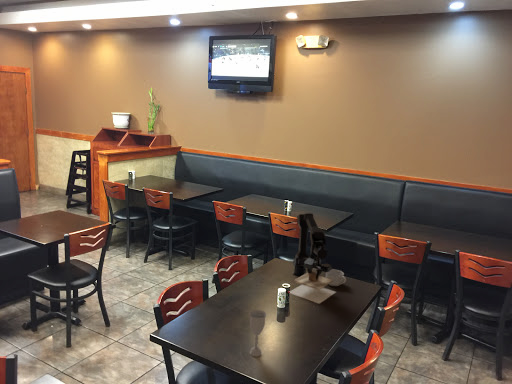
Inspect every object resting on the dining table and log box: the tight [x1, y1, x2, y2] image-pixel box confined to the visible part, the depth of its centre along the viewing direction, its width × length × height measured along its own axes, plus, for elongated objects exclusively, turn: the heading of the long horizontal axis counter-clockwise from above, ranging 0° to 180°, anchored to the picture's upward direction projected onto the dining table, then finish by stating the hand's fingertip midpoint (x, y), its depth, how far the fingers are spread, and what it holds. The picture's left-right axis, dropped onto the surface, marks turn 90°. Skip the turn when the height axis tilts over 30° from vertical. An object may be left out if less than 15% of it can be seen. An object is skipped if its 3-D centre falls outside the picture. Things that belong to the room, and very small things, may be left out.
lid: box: [293, 270, 333, 290], centre depth 234 cm, size 16×16×5 cm
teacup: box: [325, 268, 347, 287], centre depth 247 cm, size 14×11×8 cm
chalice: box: [248, 309, 267, 357], centre depth 173 cm, size 7×7×18 cm
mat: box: [289, 284, 337, 305], centre depth 236 cm, size 20×20×1 cm
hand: (313, 278), depth 234 cm, fingers closed on lid, 4 cm apart
